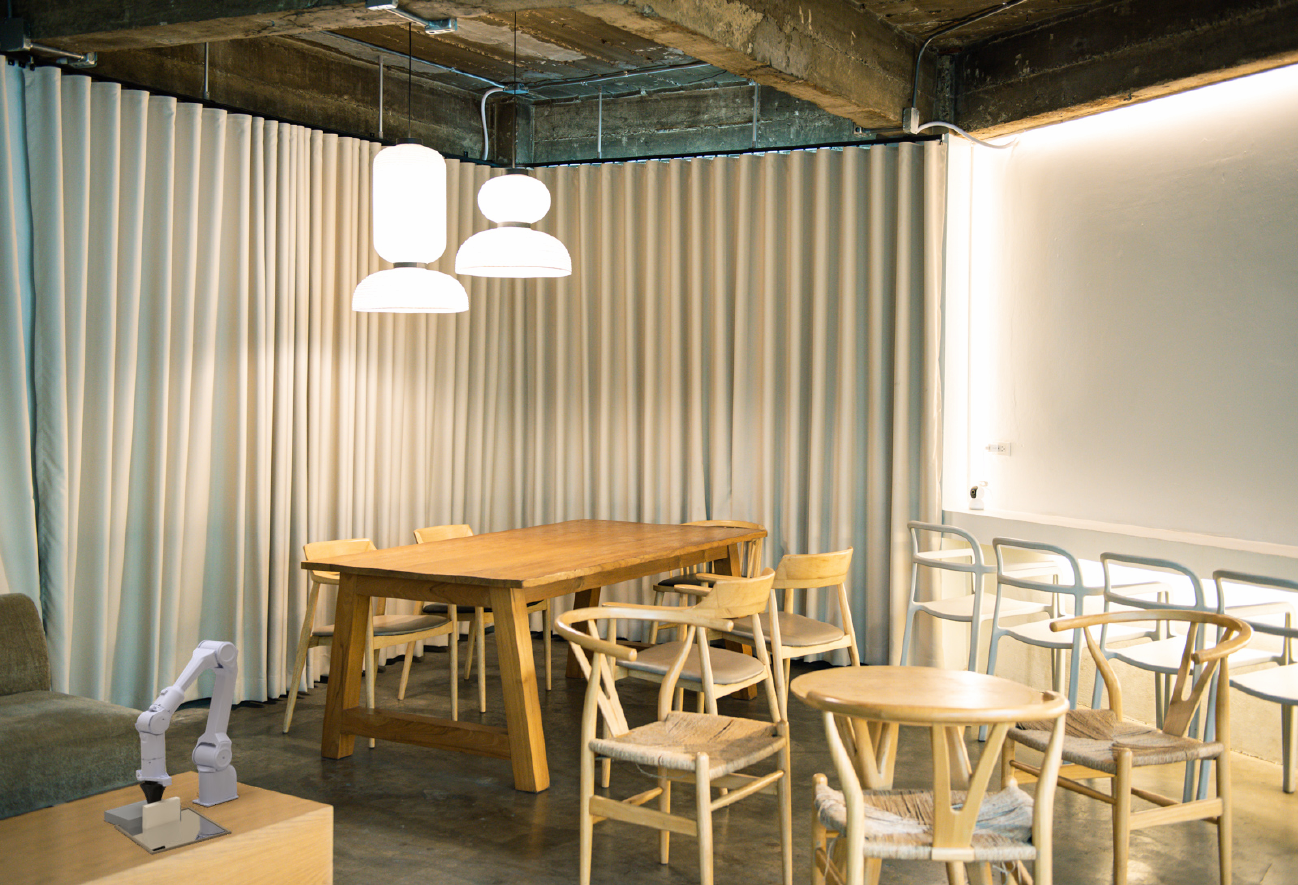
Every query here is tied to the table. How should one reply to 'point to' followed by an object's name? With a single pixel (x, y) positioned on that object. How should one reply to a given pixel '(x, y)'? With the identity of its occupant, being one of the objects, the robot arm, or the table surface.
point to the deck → (127, 815)
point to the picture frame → (175, 832)
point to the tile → (161, 812)
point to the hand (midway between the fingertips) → (154, 809)
